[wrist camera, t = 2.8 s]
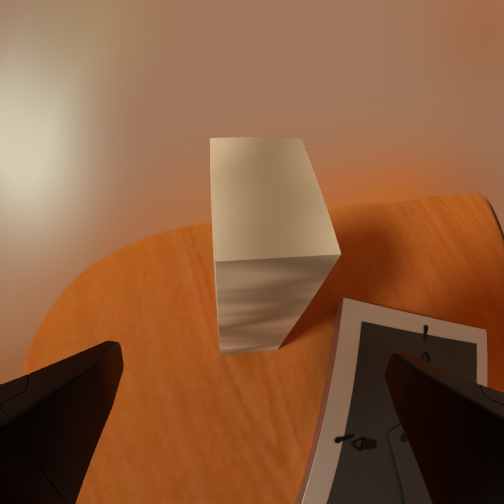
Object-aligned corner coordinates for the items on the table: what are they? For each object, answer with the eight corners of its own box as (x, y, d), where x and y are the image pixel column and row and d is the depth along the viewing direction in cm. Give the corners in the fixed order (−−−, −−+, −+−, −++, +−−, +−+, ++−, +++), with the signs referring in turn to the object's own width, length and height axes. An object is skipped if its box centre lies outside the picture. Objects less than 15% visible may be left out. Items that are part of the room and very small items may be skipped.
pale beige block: (220, 354, 20) (215, 261, 9) (214, 278, 23) (210, 138, 12) (277, 349, 20) (341, 254, 9) (265, 275, 23) (301, 138, 12)
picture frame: (442, 537, 11) (472, 336, 22) (460, 542, 9) (491, 326, 20) (274, 553, 12) (334, 307, 23) (281, 568, 10) (346, 292, 21)
